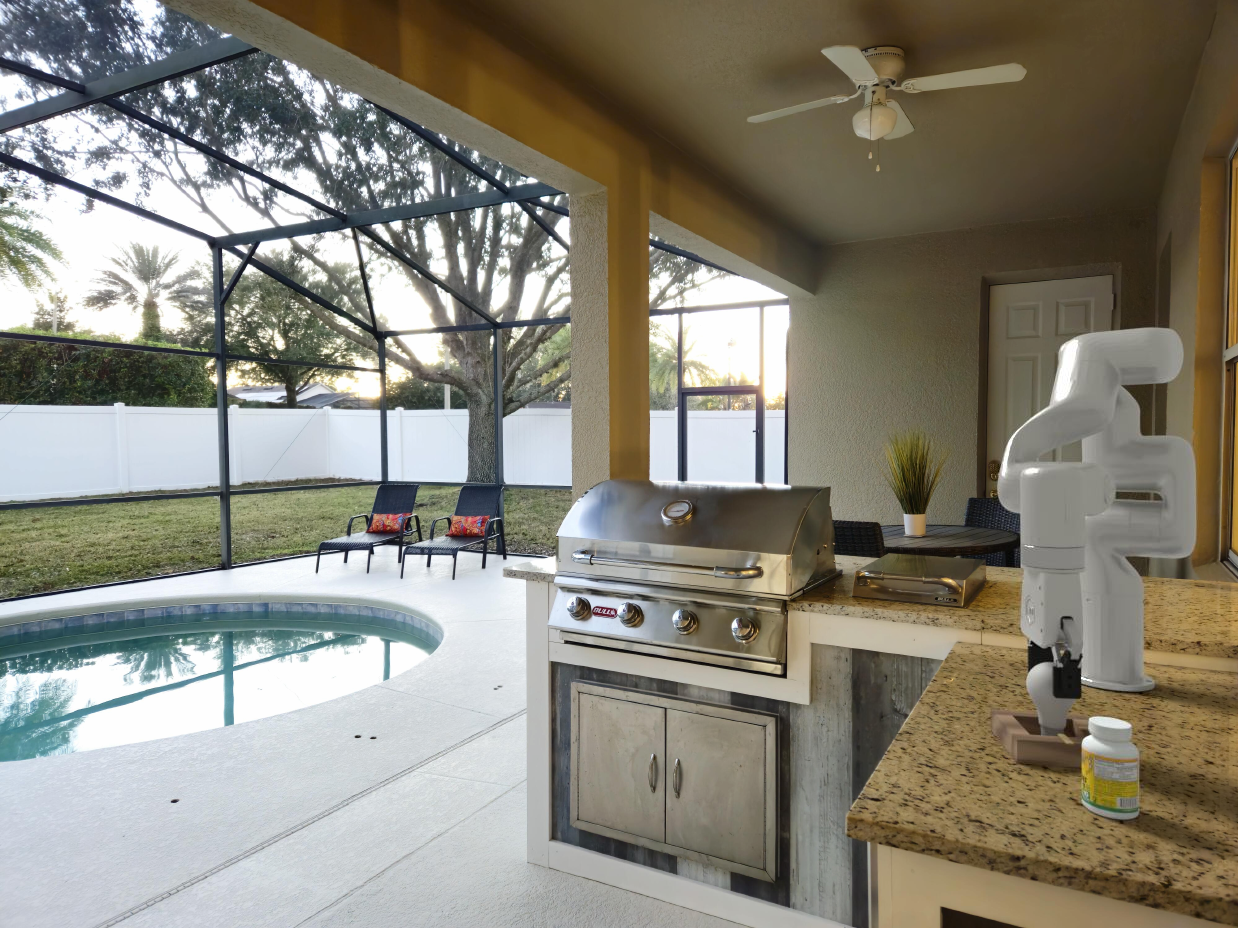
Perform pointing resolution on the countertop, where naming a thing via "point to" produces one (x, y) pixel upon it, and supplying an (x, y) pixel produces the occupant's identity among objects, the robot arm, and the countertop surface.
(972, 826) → the countertop surface
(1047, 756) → the socket block
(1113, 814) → the supplement bottle
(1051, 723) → the lightbulb
